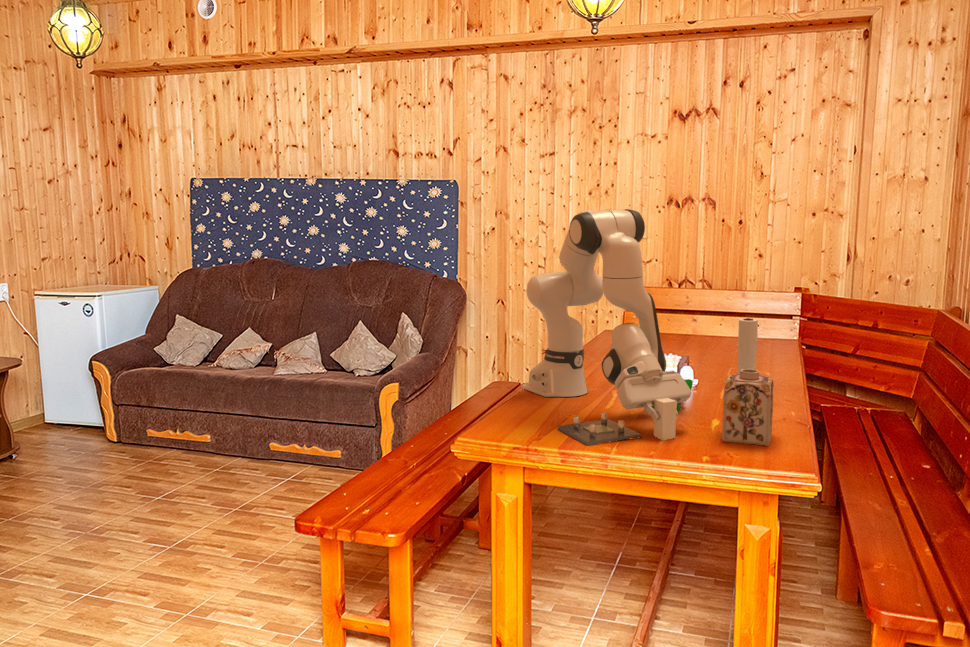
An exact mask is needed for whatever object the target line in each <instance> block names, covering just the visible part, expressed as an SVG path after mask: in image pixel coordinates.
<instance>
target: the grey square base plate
mask: <svg viewBox="0 0 970 647" xmlns="http://www.w3.org/2000/svg"><path fill="white" fill-rule="evenodd" d="M600 414H601V415H600V416H601V417H600V419H598V420H593V421H591V420H590V421H585V422H580V421H581V420H580V415H575V416H573V423H569V424H561V425H557V430H559V431H560V432H562V433H564V434H565V435H567V436H569V437H570V438H573V439H574V438H575V440H576V441H578V442H580V443H582V444H583V445H585V446H593V445H594V444H595V445H600V444H599V443H602V444H605V443H604V442H609V441H615V442H617V441H616V440H622V441H624V440H623V439H629V440H631V439H630V438H636V439H639V438H638V437H641V436H642V434H641V433H639V431H638V432H637V431H635V430H633V429H631V428H629V427H626V426H625V420H621V419H620V420H619V419H618V421H617V422H615V421H614V420H612V419H609V418H608V412H601V413H600ZM641 438H642V437H641ZM609 443H610V442H609ZM595 445H594V446H595Z"/></svg>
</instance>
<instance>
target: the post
mask: <svg viewBox="0 0 970 647" xmlns="http://www.w3.org/2000/svg"><path fill="white" fill-rule="evenodd" d="M654 410H655V411H659V413H660V415H661V418H660V419H659V420H653V437H654V436H655V438H656V437H657V439H659V440H661V441H668V440H672V439H673V438H674V439H676V433H677V432H676V431H677V430H676V429H677V428H676V426H677V425H676V424H677V423H676V422H677V417H676V401H675V400H672V399H669V398H664V399H656V400H655V401H654ZM667 439H668V440H667Z"/></svg>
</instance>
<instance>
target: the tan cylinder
mask: <svg viewBox="0 0 970 647" xmlns="http://www.w3.org/2000/svg"><path fill="white" fill-rule="evenodd" d="M758 325H759V324H758V319H755V318H750V317H746V318H739V319H738V331H737V332H738V334H737V338H738V340H737V363H736V374H740V370H741V369H754V370H757V352H758V347H757V346H758Z"/></svg>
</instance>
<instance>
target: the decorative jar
mask: <svg viewBox="0 0 970 647" xmlns="http://www.w3.org/2000/svg"><path fill="white" fill-rule="evenodd" d="M725 379H726V380H725V384H724V388H723V405H722V407H723V408H722V409H723V410H722V425H721V426H722V427H721V430H722V431H721V432H722V433H721V440H722V442H724V443H735V444H743V443H744V444H745V445H753V444H755V446H762V445H765V446H764V447H769V446H770V443H771V439H772V432H773V410H774V408H773V407H774V381H773V379H772V378H770V377H769V376H766V375H763V374H760V370H758V369H756V370H754V369H741V370H740V374H737V373H736V374H731V375H730V374H729V375H728V376H726V378H725ZM744 444H743V445H744Z"/></svg>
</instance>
